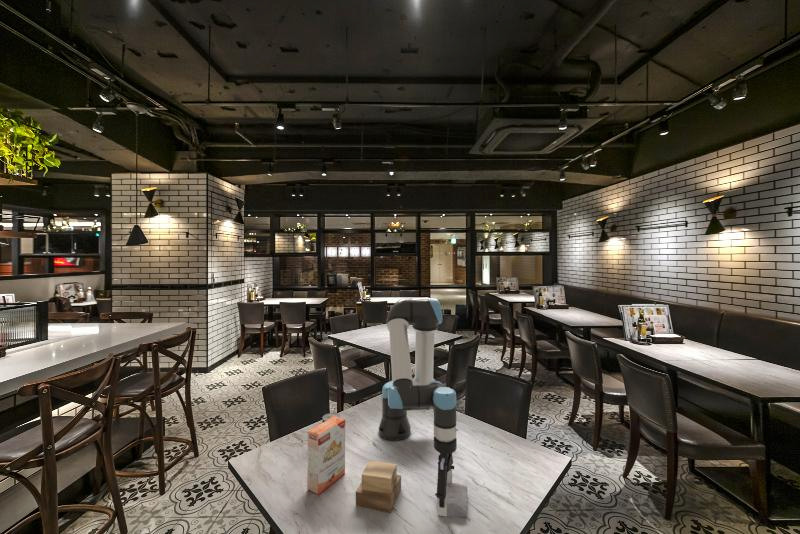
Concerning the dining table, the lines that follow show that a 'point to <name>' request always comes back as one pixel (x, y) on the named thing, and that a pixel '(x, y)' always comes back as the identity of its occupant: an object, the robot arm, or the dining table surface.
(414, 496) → the dining table surface
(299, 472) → the dining table surface
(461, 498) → the stone block
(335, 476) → the cracker box
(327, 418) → the canned tomato
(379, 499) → the tower base block
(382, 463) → the tower top block
